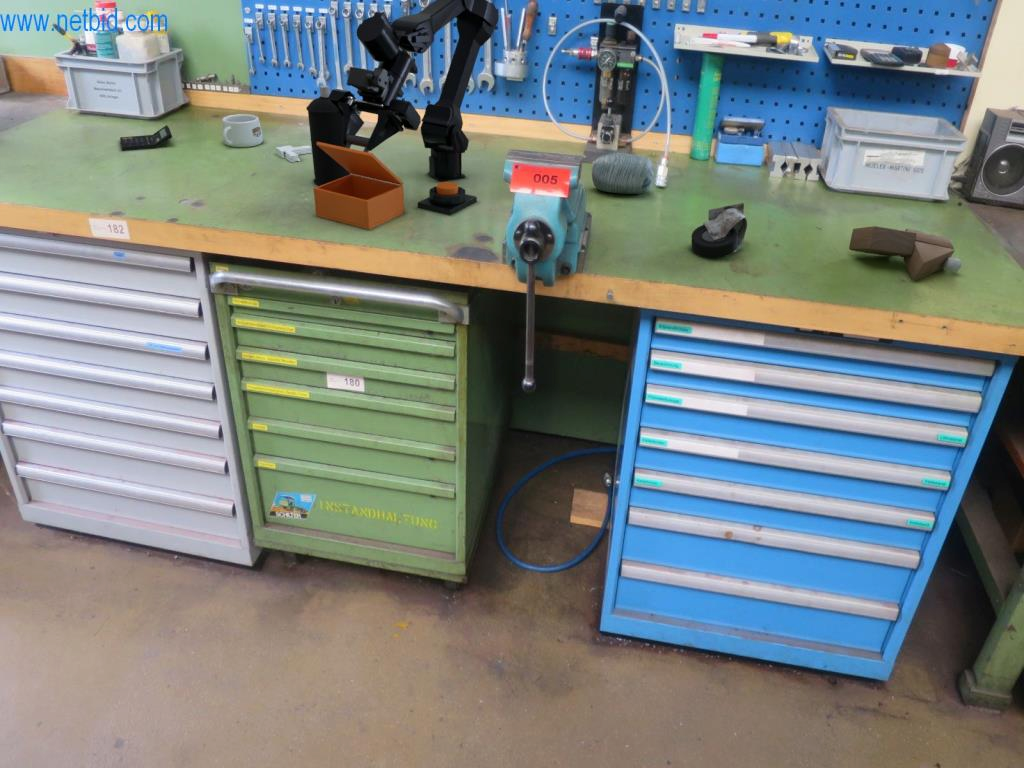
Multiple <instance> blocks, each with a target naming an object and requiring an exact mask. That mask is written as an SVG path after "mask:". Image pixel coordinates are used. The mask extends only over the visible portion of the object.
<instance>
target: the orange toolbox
mask: <svg viewBox="0 0 1024 768" xmlns="http://www.w3.org/2000/svg"><path fill="white" fill-rule="evenodd" d="M312 189H313V198H314V207H315V208H314V209H315V216H316V217H318V218H321V219H327V220H329V221H334V222H338V223H341V224H345V225H348V226H353V227H356V228H361V229H364V230H368V231H371V230H372V229H374V228H376V227H377V226H380V225H382V224H384V223H386V222H389V221H390V220H393V219H395V218H396V217H399V216H401V215H403V214H405V197H404V195H405V193H404V186H403V185H399V184H394V183H390V182H386V181H381V180H377V179H372V178H368V177H364V176H359V175H355V174H351V173H350V175H347V176H345V177H342V178H339V179H337V180H334V181H331V182H329V183H326V184H323V185H321V186H319V185H317V186H316V187H314V188H312Z"/></svg>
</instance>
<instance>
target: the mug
mask: <svg viewBox="0 0 1024 768" xmlns="http://www.w3.org/2000/svg"><path fill="white" fill-rule="evenodd" d="M221 125H222V127H221V129H222V141H223V144H225V145H226V146H229V147H232V148H249V147H255V146H259V145H261V144H262V143H263V142H264V134H263V130H262V127H261V122H260V118H259V116H257V115H254V114H250V113H249V114H248V113H240V114H239V113H238V114H230V115H226V116H224V117H222V118H221Z"/></svg>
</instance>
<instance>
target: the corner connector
mask: <svg viewBox="0 0 1024 768" xmlns="http://www.w3.org/2000/svg"><path fill="white" fill-rule="evenodd" d="M275 154H276V155H277V156H278V157H279V158H281V159H286V160H288V161H289V162H290V163H295V162H300V161H301V159H300V158H299V156H300V155H305V154H312V146H311V145H302V146H294V147H293V145H283V146H282V145H281V146H276V147H275Z"/></svg>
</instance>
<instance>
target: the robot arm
mask: <svg viewBox="0 0 1024 768" xmlns="http://www.w3.org/2000/svg"><path fill="white" fill-rule="evenodd" d="M499 17H500V16H499V11H498V9H497V8H496V6H495V3H493V2H490V1H489V0H434V1H433V2H431V3H430V4H428V5H427V6H426V7H425V8H424V9H422V10H421V11H419V12H417V13H414V14H408V15H403V16H401V17H398V18H395V19H394V20H393V21H392V22H391V23H390V21H389V19H388V17H387V15H386V14H385V12H381V11H375V12H374V14H373V16H370V17H368V18H366V19H364V20H363V21H362V22H361V23H360V24H358V26H357V29H356V37H357V39H358V40H359V41H360V43H361V45H362V46H363V47H364V49H365V50H366V51H367V53H368V54H369V56H370V57H371V59H372V60H373V61H375V62H379V64H378V65H377V67H374V69H373V70H371V69H366V68H360V67H355V66H349V70H348V75H347V80H346V85H347V86H349V87H353V88H355V89H357V91H356V94H358V96H359V97H361V98H362V100H361V99H357V98H356V96H355V95H354V94H353V92H351V90H346V89H341V88H333V89H331V91H330V95H329V97H328V100H329V101H330V103H331V104H332V105H333V106H334V107H335V109H336V110H337V111H338V112H339V113H340V114H341V115H342V116H344V128H343V139H342V143H343V144H344V146H346V143H347V142H346V136H347V135H348V134H351V135H356V136H357V134H358V132H359V131H360V130H361V128H362V127H363V126H364V124H365V121H364V120H363V119H362V117H361V114H362V112H364V113H367V114H373V115H377V120H376V124H375V126H374V128H373V130H372V132H371V135H370V137H369V138H370V139H369V141H368V144H367V149H368V151H369V152H371V151H373V150H374V149H375V148H377V147H379V146H380V145H381V144H383V143H384V142H386V140H388V139H390V138H391V137H394V135H396V134H398V133H399V132H401V133H403V132H404V131H405V130H409V131H414V132H417V131H418V129H419V127H420V134H421V138H422V141H423V145H424V148H425V149H430V155H429V157H428V170H429V171H427V175H428V176H430V177H432V178H433V179H435V180H437V181H439V182H449V181H455V180H459V179H465V178H466V175H465V174H463V170H462V169H463V168H462V167H463V161H462V160H463V159H462V156H463V155H462V154H465V153H466V151H467V150H468V148H469V142H470V139H469V138H468V137H467V135H466V134H465V132H464V131H463V125H464V122H463V121H464V120H463V116H462V112H461V108H462V105H463V101H464V99H465V96H466V92H467V89H468V86H469V83H470V80H471V76H472V73H473V70H474V67H475V64H476V61H477V58H478V55H479V52H480V49H481V48H482V46H483V45H485V44H486V43H487V42H488V40H490V39H491V38H492V36H493V34H494V33H495V32H494V31H495V29H496V27H497V25H498V23H499ZM454 19H456V22H455V26H456V29H457V34H458V39H457V42H456V46H455V49H454V52H453V55H452V58H451V61H450V65H449V67H448V69H447V74H446V77H445V80H444V83H443V87H442V89H441V92H440V95H439V98H438V100H437V101H436V102H435V103H434V104H433V103H428V104H427V105H426V106H425V110H424V113H423V117H422V118H421V115H420V114H419V113H418V111H417V109H416V108H415V107H414V105H413V103H412V102H411V101H409V100H403V99H401V98H403V96H404V94H405V92H404V91H403V89H402V88H403V86H404V85H405V83H406V81H407V78H408V76H409V74H416V75H418V74H419V73H418V72H419V71H418V66H417V64H416V59H415V58H412V57H411V55H410V53H414V54H424V53H426V52H427V50H428V49H429V48H430V47H431V46H432V45H433V44H434V42H435V35H436V34H437V33H438V32H439V31H440V30H441V29H443V28H444V27H445V26H447V25H448V24H449V23H450V22H451V21H454ZM398 98H400V99H398Z"/></svg>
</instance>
